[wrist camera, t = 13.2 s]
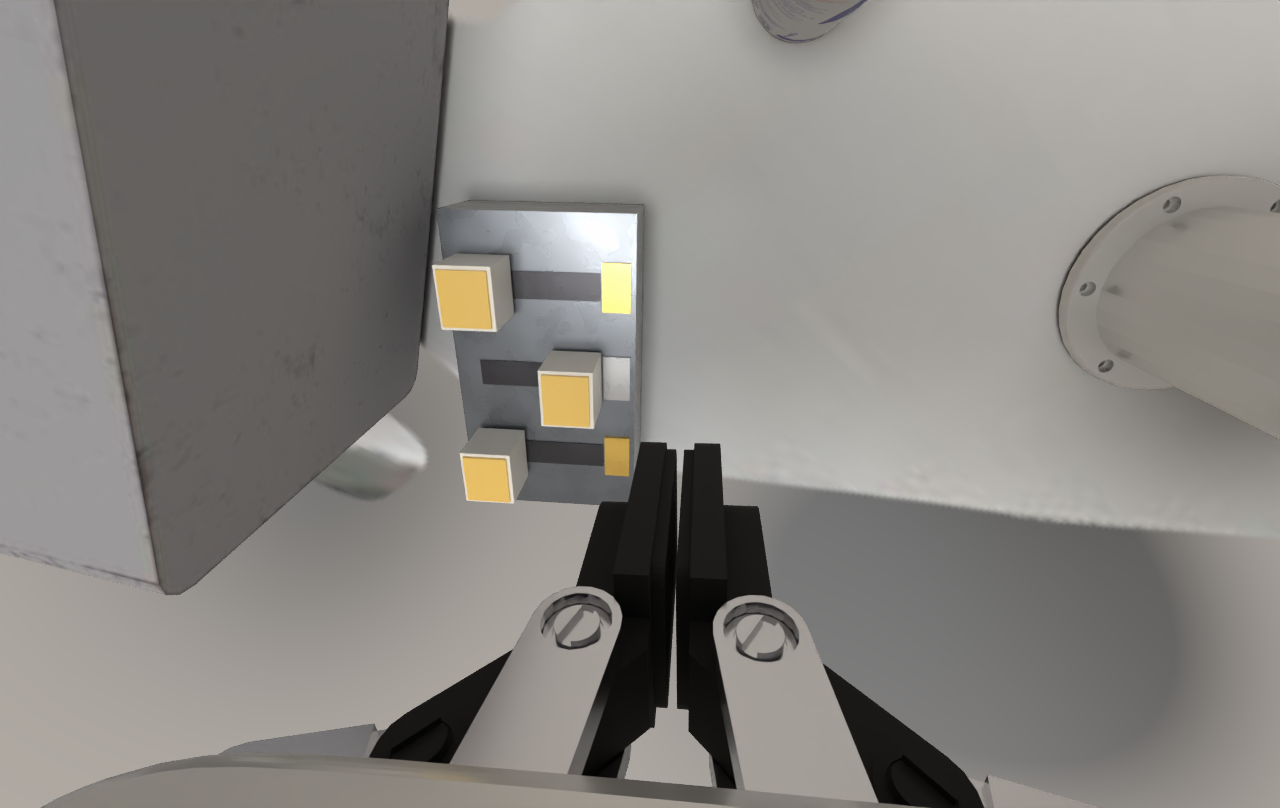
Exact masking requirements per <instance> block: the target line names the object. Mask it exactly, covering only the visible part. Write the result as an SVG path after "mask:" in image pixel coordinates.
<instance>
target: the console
mask: <svg viewBox="0 0 1280 808" xmlns="http://www.w3.org/2000/svg"><path fill="white" fill-rule="evenodd" d="M436 212H437V219H438V227H439V234H440V241H441V248H442V255H443V259H446V258H448V257H450V256H452V255H454V254H456V253H460V254H491V255H509V259H510V271H511V283H512V294H513V306H514V316H513V317H512V318H510V319H509V320H508V321H507V322H506V323H505V324H504V325H503V326H502V327H501V328H500V329H499V330H498V331H497V332H485V331H461V330H453V335H454V342H455V349H456V357H457V364H458V371H459V378H460V385H461V393H462V399H463V407H464V414H465V421H466V428H467V435H468V441H469V440H470V439H471V437H472V436H473V435H474V433H475V432H476V430H477V429H478V428H493V429H512V430H524V433H525V444H526V456H527V467H528V476H527V479H526V481H525V483H524V485H523V487H522V489H521V491H520V493H519V495H518V497H517V499H516V500H527V501H543V502H558V503H574V504H590V505H600V504H601V502H602V501H613V502H628V499H629V495H630V490H631V485H632V481H633V476H634V471H635V466H636V462H637V457H638V452H639V448H640V420H641V363H642V306H643V249H644V204H607V203H567V202H526V201H486V200H468V201H464V202H460V203H456V204H452V205H449V206H445V207H441V208H437V209H436ZM551 350H552V351H575V352H597V353H601V371H602V406H601V409H600V412H599V415H598V418H597V421H596V424H595V427H594V429H585V428H566V427H548V426H541V412H540V398H539V384H538V369H539V368H540V366H541V365H542V363H543V362H544V360H545V359H546V357H547V356H548V354H549V353H550V351H551Z"/></svg>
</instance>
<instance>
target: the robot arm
mask: <svg viewBox="0 0 1280 808" xmlns="http://www.w3.org/2000/svg"><path fill="white" fill-rule="evenodd" d="M1059 328H1060V332H1061V336H1062V340H1063V343H1064V345H1065V347H1066V349H1067V350H1068V352H1069V354H1070V356H1071V357H1072V358H1073V359H1074V360H1075V361H1076V362H1077V363H1078V364H1079V365H1080V366H1081V367H1082V368H1083V369H1084V370H1086V371H1088V372H1089V373H1091V374H1092V375H1094V376H1096V377H1097V378H1099V379H1101V380H1103V381H1106V382H1108V383H1110V384H1112V385H1115V386H1120V387H1124V388H1129V389H1140V390H1156V389H1165V388H1173V387H1176V388H1178V389H1180V390H1182V391H1184V392H1186V393H1188V394H1190V395H1192V396H1194V397H1196V398H1198V399H1200V400H1202V401H1204V402H1206V403H1208V404H1210V405H1212V406H1214V407H1216V408H1218V409H1220V410H1222V411H1224V412H1226V413H1228V414H1230V415H1232V416H1234V417H1236V418H1238V419H1240V420H1242V421H1243V422H1245V423H1247V424H1249V425H1251V426H1253V427H1255V428H1257V429H1259V430H1261V431H1263V432H1265V433H1267V434H1269V435H1271V436H1273V437H1275V438H1277V439H1279V440H1280V186H1279V185H1277V184H1274V183H1271V182H1268V181H1266V180H1263V179H1260V178H1251V177H1243V176H1220V175H1212V176H1206V177H1200V178H1193V179H1188V180H1185V181H1182V182H1179V183H1176V184H1173V185H1169V186H1166V187H1163V188H1161V189H1159V190H1157V191H1155V192H1153V193H1151V194H1149V195H1147V196H1145V197H1143V198H1141V199H1139V200H1138V201H1136V202H1135V203H1134V204H1132V205H1131V206H1129V207H1128V208H1126V209H1125V210H1123V211H1122V212H1120V213H1119V214H1117V215H1116V216H1115V217H1114V218H1113V219H1112V220H1111V221H1110V222H1109V223H1107V224H1106V225H1105V226H1104V227H1103V228H1102V229H1101V230H1100V231H1099V232H1098V233H1097V234H1096V235H1095V236H1094V238H1093V239H1092V240H1091V241H1090V242H1089V244H1088V245H1087V246H1086V247H1085V248H1084V249H1083V251H1082V252H1081V254H1080V256H1079V257H1078V259H1077V261H1076V262H1075V264H1074V265H1073V267H1072V269H1071V270H1070V273H1069V275H1068V278H1067V280H1066V283H1065V285H1064V288H1063V290H1062V295H1061V301H1060V306H1059ZM675 588H676V638H677V640H676V642H677V643H676V644H677V709H687V710H689V732H690V733H691V734H692V735H693V736H694V737H695V739H696V740H697V741H698V742H699V743H700V744H701V745H702V746H703V747H704V748H705V749H706V750H707V751H708V752H709V768H710V774H711V781H712V787H704V786H693V785H682V784H672V783H661V782H650V781H639V780H627V779H625V775H626V771H627V768H628V764H629V760H630V752H631V743H632V742H633V741H635V740H636V739H637V738H638V737H640V736H641V735H642V734H643V733H645V732H646V731H647V730H648V729H650V727H651V728H654V726H655V715H656V707H660V708H667V707H668V696H669V678H670V663H671V649H672V634H673V619H674V618H673V617H674V604H675ZM41 808H1100V807H1097V806H1093V805H1090V804H1087V803H1083V802H1080V801H1076V800H1073V799H1069V798H1066V797H1063V796H1059V795H1056V794H1053V793H1049V792H1046V791H1042V790H1039V789H1035V788H1032V787H1029V786H1025V785H1022V784H1018V783H1015V782H1011V781H1008V780H1005V779H1001V778H998V777H994V776H991V775H987V777H986V779H985V782H982V781H978V780H975V779H972V778H968V777H967V776H966V774H965V773H964V772H963V771H962V770H961V769H960V768H959V767H958V766H957V765H956V764H954V763H953V762H952V761H951V760H950V759H949V758H948V757H947V756H945V755H944V754H943V753H941V752H940V751H939V750H937V749H936V748H935V747H933V746H932V745H931V744H929V743H928V742H927V741H925V740H924V739H923V738H922V737H920V736H919V735H917V734H916V733H915V732H914V731H912V730H911V729H909V728H908V727H907V726H905V725H904V724H903V723H902V722H900V721H899V720H898V719H896V718H895V717H894V716H892V715H891V714H889V713H888V712H887V711H885V710H884V709H883V708H881V707H880V706H879V705H878V704H876V703H875V702H874V701H872V700H871V699H870V698H868V697H867V696H866V695H864V694H863V693H862V692H860V691H859V690H858V689H856V688H855V687H854V686H852V685H851V684H849V683H848V682H847V681H846V680H844V679H843V678H842V677H840V676H839V675H837V674H836V673H835V672H833V671H832V670H831V669H829V668H828V667H827V666H825V665H824V664H823V663H822V661H821V659H820V656H819V654H818V651H817V649H816V646H815V644H814V641H813V639H812V637H811V634H810V632H809V629H808V627H807V625H806V624H805V622H804V620H803V619H802V617H801V616H800V615H799V614H798V613H797V612H796V611H795V610H794V609H793V608H792V607H790V606H788V605H787V604H785V603H783V602H781V601H779V600H777V599H774V598H772V594H771V587H770V580H769V575H768V567H767V560H766V553H765V547H764V540H763V533H762V526H761V521H760V513H759V508H758V507H757V506H733V505H723V487H722V467H721V448H720V444H708V443H695V445H694V450H684V461H683V476H682V492H681V507H680V522H679V537H678V552H677V453H676V450H674V449H667V443H660V442H641V444H640V448H639V452H638V457H637V462H636V466H635V471H634V476H633V481H632V485H631V490H630V495H629V499H628V502H613V501H602V502H601V504H600V506H599V509H598V513H597V516H596V520H595V523H594V527H593V530H592V533H591V537H590V540H589V544H588V547H587V551H586V554H585V558H584V561H583V565H582V568H581V571H580V575H579V578H578V582H577V585H576V587H572V588H566V589H563V590H561V591H559V592H557V593H554V594H552V595H551V596H549V597H548V598H547V599H545V600H544V601H543V602H542V603H541V604H540V605H539V606H538V608H537V609H536V610H535V612H534V613H533V615H532V617H531V619H530V620H529V622H528V624H527V626H526V628H525V629H524V631H523V633H522V635H521V637H520V638H519V640H518V642H517V644H516V646H515V647H514V649H513V650H511V651H509V652H508V653H506V654H504V655H503V656H501V657H499V658H498V659H496V660H494V661H493V662H491V663H489V664H488V665H486V666H484V667H483V668H481V669H479V670H478V671H476V672H474V673H473V674H471V675H469V676H468V677H466V678H464V679H463V680H461V681H459V682H458V683H456V684H454V685H453V686H451V687H449V688H448V689H446V690H444V691H443V692H441V693H439V694H437V695H436V696H434V697H432V698H431V699H429V700H427V701H426V702H424V703H422V704H421V705H419V706H418V707H416V708H414V709H412V710H411V711H410V712H407V713H406V714H404V715H403V716H402V717H401V718H399V719H398V720H397V721H395V722H394V723H393V724H391V725H390V726H389V727H388V729H386V730H380V731H377V729H376V726H375V724H368V725H361V726H354V727H348V728H341V729H335V730H328V731H321V732H314V733H307V734H300V735H293V736H287V737H280V738H273V739H266V740H260V741H253V742H248V743H244V744H241V745H238V746H234V747H231V748H229V749H227V750H225V751H224V752H222V753H220V754H218V755H208V756H200V757H194V758H188V759H183V760H176V761H171V762H165V763H160V764H156V765H152V766H149V767H145V768H142V769H138V770H135V771H131V772H128V773H124V774H120V775H117V776H114V777H110V778H107V779H104V780H101V781H99V782H96V783H93V784H90V785H88V786H85V787H82V788H80V789H78V790H75V791H73V792H71V793H69V794H66V795H64V796H62V797H59V798H57V799H55V800H53V801H52V802H50V803H48V804H46V805H45V806H43V807H41Z"/></svg>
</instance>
